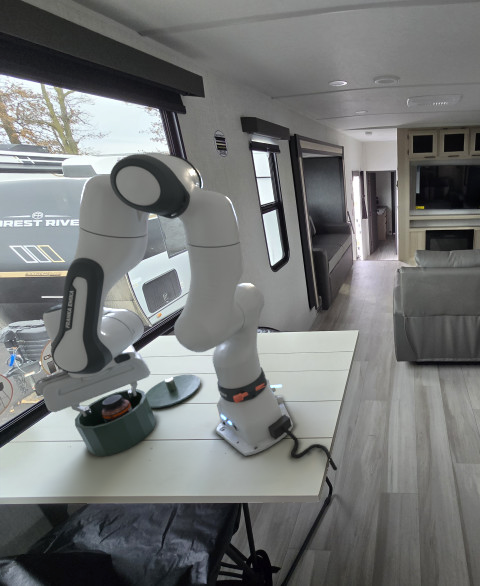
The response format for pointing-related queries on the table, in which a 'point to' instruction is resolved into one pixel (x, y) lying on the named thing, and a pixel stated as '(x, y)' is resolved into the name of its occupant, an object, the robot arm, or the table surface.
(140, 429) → the waste tin
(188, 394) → the tin lid
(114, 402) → the supplement bottle
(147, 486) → the table surface
